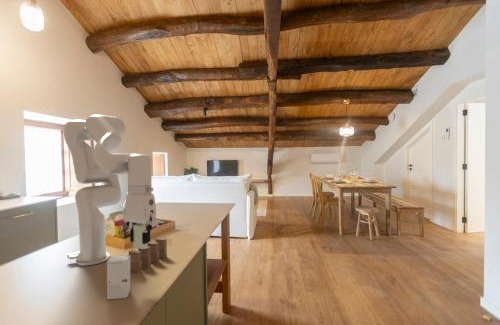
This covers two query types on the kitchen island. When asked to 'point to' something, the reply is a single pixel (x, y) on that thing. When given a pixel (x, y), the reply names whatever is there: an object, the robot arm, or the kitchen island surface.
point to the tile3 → (154, 251)
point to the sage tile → (138, 236)
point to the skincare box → (118, 277)
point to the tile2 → (145, 257)
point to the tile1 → (135, 261)
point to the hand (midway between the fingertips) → (140, 241)
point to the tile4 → (162, 247)
